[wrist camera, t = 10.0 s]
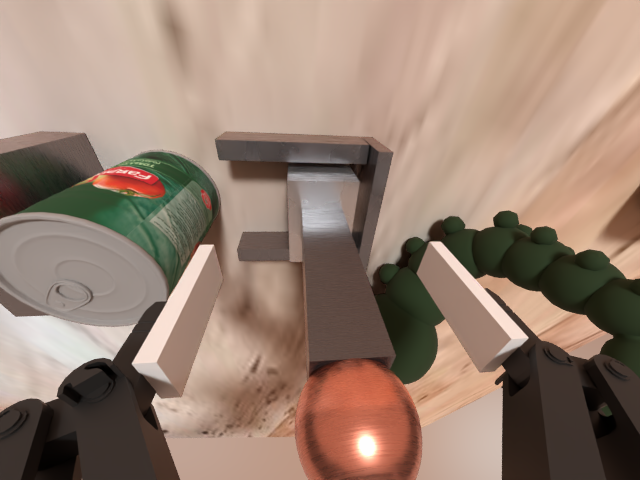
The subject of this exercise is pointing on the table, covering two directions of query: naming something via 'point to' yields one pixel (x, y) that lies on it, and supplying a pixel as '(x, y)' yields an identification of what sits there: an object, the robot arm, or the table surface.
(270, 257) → the press frame
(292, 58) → the table surface
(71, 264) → the canned tomato
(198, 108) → the table surface
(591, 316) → the toy figurine
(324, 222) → the ball-tipped square rod
